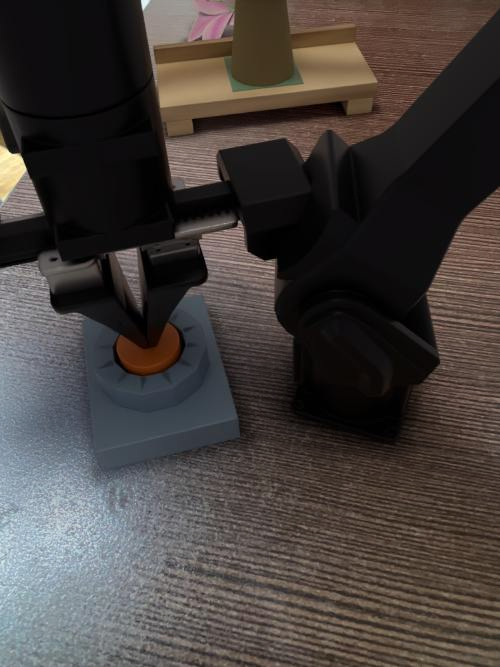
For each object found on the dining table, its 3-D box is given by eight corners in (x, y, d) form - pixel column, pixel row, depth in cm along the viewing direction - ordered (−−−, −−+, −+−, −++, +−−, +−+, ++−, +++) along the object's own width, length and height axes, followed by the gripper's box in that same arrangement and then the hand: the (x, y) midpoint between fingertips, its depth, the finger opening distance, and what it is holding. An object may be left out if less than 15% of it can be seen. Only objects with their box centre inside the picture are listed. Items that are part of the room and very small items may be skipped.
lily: (197, 25, 73) (154, -41, 65) (286, -19, 69) (252, -95, 61) (206, 101, 69) (161, 41, 61) (302, 59, 65) (267, -12, 57)
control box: (240, 438, 35) (236, 399, 32) (103, 472, 34) (86, 436, 31) (205, 315, 41) (199, 273, 38) (89, 340, 40) (73, 300, 37)
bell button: (188, 380, 35) (184, 358, 33) (127, 394, 35) (120, 373, 33) (178, 334, 37) (173, 312, 36) (120, 347, 37) (113, 326, 35)
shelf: (374, 112, 57) (380, 65, 54) (165, 137, 56) (157, 91, 52) (350, 67, 63) (354, 23, 59) (160, 89, 62) (152, 45, 58)
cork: (270, 93, 54) (268, -44, 46) (217, 75, 57) (206, -58, 48) (306, 65, 57) (311, -68, 49) (255, 50, 60) (250, -80, 51)
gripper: (261, -33, 29) (267, 222, 41) (-151, 27, 26) (-15, 280, 38) (342, 75, 22) (321, 346, 34) (-209, 171, 19) (-21, 426, 31)
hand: (148, 342), depth 34 cm, fingers closed, pressing on bell button
